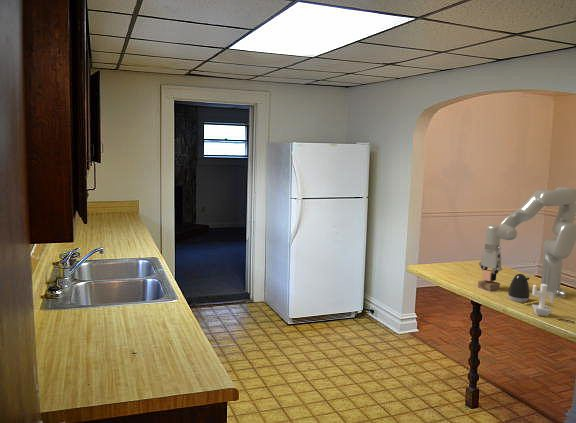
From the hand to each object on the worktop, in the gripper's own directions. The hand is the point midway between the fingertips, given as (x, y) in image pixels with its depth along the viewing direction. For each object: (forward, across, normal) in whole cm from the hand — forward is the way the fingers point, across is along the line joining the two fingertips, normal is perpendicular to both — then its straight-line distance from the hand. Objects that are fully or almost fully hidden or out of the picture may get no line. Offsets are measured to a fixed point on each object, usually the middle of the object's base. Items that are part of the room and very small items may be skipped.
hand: (489, 279), depth 281 cm
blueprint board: (+7, -3, -5) cm, 9 cm away
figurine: (+7, -39, +11) cm, 41 cm away
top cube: (0, 0, 0) cm, 0 cm away
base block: (+6, 0, 0) cm, 6 cm away
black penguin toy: (+7, -21, +3) cm, 22 cm away
